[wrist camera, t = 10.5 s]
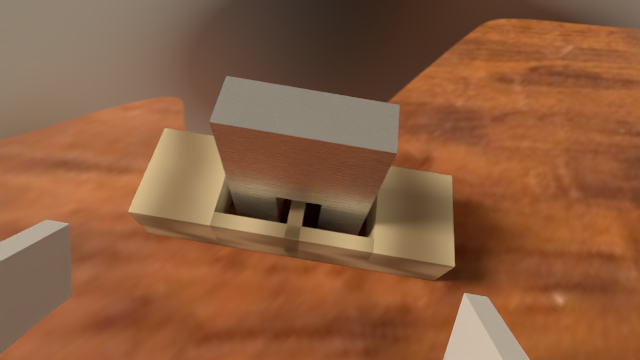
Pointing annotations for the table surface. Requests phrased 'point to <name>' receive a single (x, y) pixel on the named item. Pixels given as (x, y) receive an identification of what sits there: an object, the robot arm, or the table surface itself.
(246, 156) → the grey notched block
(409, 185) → the beige open box
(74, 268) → the table surface
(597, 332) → the table surface
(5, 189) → the table surface
